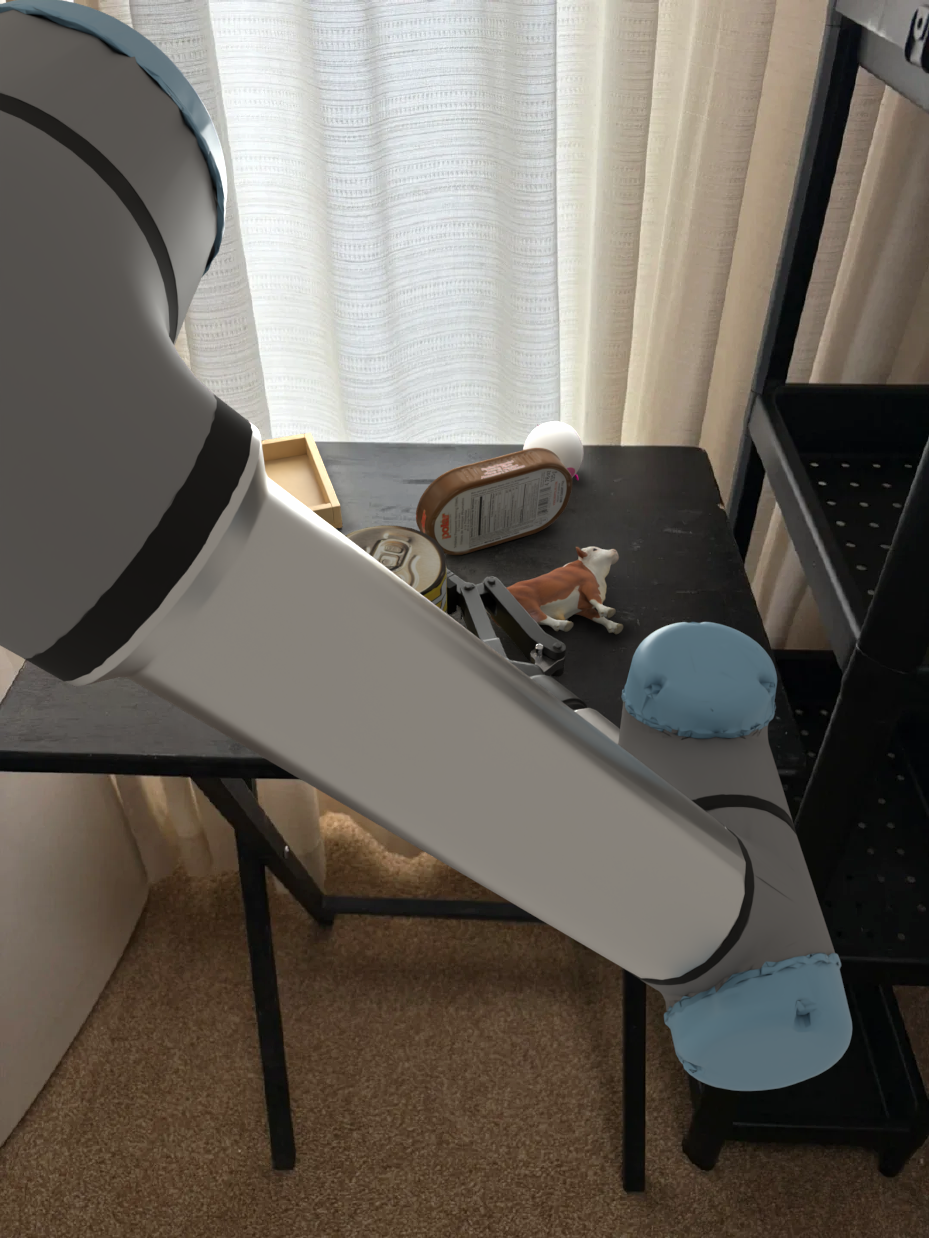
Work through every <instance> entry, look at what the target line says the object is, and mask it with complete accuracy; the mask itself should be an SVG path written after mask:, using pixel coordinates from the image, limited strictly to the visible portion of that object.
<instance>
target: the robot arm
mask: <svg viewBox="0 0 929 1238" xmlns="http://www.w3.org/2000/svg"><path fill="white" fill-rule="evenodd" d="M227 198H228V176H227V168H226V161H225V156H224V151H223V147H222V144H221V141H220V138H219V135H218V132H217V130H216V127H215V124H214V122H213V119H212V117H211V115H210V113H209V110H207V107H206V105H205V104H204V102H203V100H202V99H201V97H200V96H199V94H198V91H196V89H195V88H194V86H193V85H192V84H191V82H190V80H189V79H188V78H187V77H186V75H185V74H184V73H183V71H182V70H181V69H179V67H178V66H177V65H176V64H175V63H174V62H173V60H172V59H171V58H169V56H167V54H166V53H164V52H163V51H162V49H160V48H159V47H158V46H157V45H156V44H155V43H153V42H152V41H151V40H150V39H148V37H146V36H144V35H143V34H142V33H140V32H139V31H137V30H136V29H134V28H133V27H131V26H130V25H128V24H127V23H125V22H123V21H122V20H120V19H118V18H117V17H114V16H112V15H110V14H107V12H104V11H101V10H98V9H95V8H93V7H92V6H91V7H90V6H88V5H84V4H80V3H77V2H73V1H67V0H11V1H5V2H1V3H0V647H2V648H4V649H5V650H7V651H9V652H11V653H13V654H15V655H16V656H18V657H19V658H22V659H24V660H25V661H27V662H29V663H30V664H32V665H34V666H36V667H37V668H39V669H41V670H42V671H45V672H46V673H48V674H50V675H52V676H53V677H55V678H57V679H58V680H60V681H62V682H64V683H66V684H67V685H70V686H72V687H84V686H85V687H86V686H88V685H89V686H90V685H93V684H97V683H101V682H105V681H109V680H114V679H118V678H126V679H128V680H129V681H132V682H133V683H135V684H137V685H138V686H140V687H142V688H144V689H146V690H147V691H149V692H150V693H152V694H154V695H155V696H157V697H159V698H160V699H162V700H164V701H166V702H168V703H170V704H171V705H173V706H175V707H176V708H177V709H180V710H182V711H183V712H185V713H186V714H188V715H190V716H192V717H193V718H195V719H196V720H199V721H200V722H202V723H203V724H205V725H206V726H208V727H210V728H212V729H214V730H215V731H217V732H219V733H221V734H222V735H223V736H225V737H228V738H229V739H231V740H233V741H235V742H236V743H238V744H239V745H241V746H242V747H245V748H246V749H248V750H249V751H251V752H253V753H255V754H256V755H258V756H260V757H262V758H263V759H265V760H267V761H268V762H270V763H272V764H274V765H275V766H277V767H279V768H281V770H284V771H286V772H287V773H289V774H291V775H293V776H294V777H296V778H297V779H298V780H301V781H303V783H306V784H308V785H310V786H311V787H313V788H314V789H316V790H318V791H320V792H322V793H323V794H325V795H326V796H328V797H330V798H332V799H333V800H335V801H337V802H339V803H341V805H344V806H345V807H347V808H349V809H351V810H352V811H354V812H356V813H357V814H359V815H361V816H363V817H364V818H366V819H368V820H369V821H371V822H373V823H375V824H376V825H377V826H379V827H381V828H383V829H385V830H387V831H388V832H390V833H392V834H393V835H395V836H397V837H398V838H400V839H402V840H404V841H406V842H407V843H409V844H410V845H412V846H414V847H416V848H417V849H419V850H421V851H422V852H424V853H426V854H428V855H429V856H430V857H432V858H434V859H436V860H438V861H439V862H441V863H443V864H444V865H446V866H448V867H450V868H452V869H453V870H455V871H457V872H458V873H460V874H462V875H464V876H465V877H467V878H469V879H471V881H473V882H475V883H477V884H479V885H480V886H481V887H484V888H485V889H487V890H489V891H491V892H492V893H494V894H496V895H498V896H499V897H501V898H502V899H504V900H506V901H508V902H509V903H511V904H513V905H515V906H516V907H518V908H520V909H522V910H523V911H525V912H527V913H528V914H531V915H532V916H533V917H536V918H537V919H538V920H540V921H542V922H544V923H546V924H547V925H549V926H551V927H552V928H554V929H555V930H558V931H559V932H561V933H563V934H564V935H566V936H568V937H569V938H571V939H572V940H574V941H576V942H578V943H579V944H581V945H583V946H584V947H586V948H587V949H590V950H592V951H593V952H595V953H596V954H599V955H600V956H602V957H604V959H606V960H608V961H610V962H612V963H614V964H615V965H617V966H619V967H621V968H622V969H623V970H624V971H626V972H628V973H629V974H630V975H632V976H634V977H635V978H637V979H639V980H640V981H641V982H643V983H645V984H646V985H648V986H649V987H651V988H653V989H655V991H658V992H659V993H660V994H661V995H662V997H663V999H664V1002H665V1009H666V1012H664V1014H663V1020H664V1021H663V1022H664V1024H665V1026H667V1027H668V1028H669V1029H670V1034H671V1038H672V1043H673V1047H674V1051H675V1055H676V1057H677V1058H678V1061H679V1062H680V1063H681V1064H682V1067H683V1069H684V1071H686V1072H687V1073H688V1074H689V1075H690V1076H691V1077H692V1078H694V1079H695V1080H697V1081H699V1082H701V1083H703V1084H705V1085H708V1086H711V1087H714V1088H718V1089H723V1090H730V1091H736V1092H737V1091H739V1092H756V1091H757V1092H758V1091H768V1090H775V1089H776V1090H777V1089H782V1088H786V1087H789V1086H792V1085H796V1084H798V1083H801V1082H805V1081H806V1080H809V1079H811V1078H815V1077H816V1076H819V1075H820V1074H822V1073H824V1072H826V1071H827V1070H829V1069H831V1068H832V1067H833V1066H834V1065H835V1064H837V1063H838V1062H839V1060H841V1059H842V1058H843V1056H844V1054H845V1053H846V1051H847V1050H848V1048H849V1046H850V1043H851V1040H852V1036H853V1021H852V1016H851V1011H850V1008H849V1004H848V999H847V995H846V991H845V988H844V987H845V985H844V983H843V978H842V973H841V967H842V962H841V959H840V957H839V953H836V952H835V949H834V945H833V942H832V939H831V936H830V933H829V930H828V927H827V924H826V921H825V917H824V915H823V911H822V908H821V905H820V903H819V900H818V897H817V894H816V890H815V887H814V884H813V881H812V878H811V875H810V872H809V869H808V865H807V862H806V860H805V856H804V853H803V851H802V847H801V843H800V841H799V838H798V834H797V831H796V828H795V824H794V821H793V817H792V815H791V811H790V808H789V804H788V802H787V797H786V795H785V792H784V791H785V790H784V788H783V784H782V781H781V778H780V775H779V772H778V767H777V764H776V762H775V759H774V755H773V752H772V749H771V745H770V742H769V734H768V732H769V730H768V728H769V725H770V724H769V723H770V722H771V721H772V720H773V719H774V717H775V714H776V712H775V711H776V709H777V705H776V702H775V699H776V695H777V694H776V693H777V686H778V676H777V671H776V668H775V664H774V662H773V660H772V658H771V657H770V655H769V653H768V652H767V651H766V650H765V649H764V647H762V646H761V644H759V643H758V642H757V641H756V640H754V639H753V638H752V637H750V636H749V635H748V634H745V633H743V632H741V631H740V630H738V629H735V628H733V627H730V626H727V625H725V624H722V623H716V622H711V621H702V622H696V621H691V622H687V621H682V622H681V621H680V622H675V623H671V624H669V625H668V624H667V625H665V626H663V627H660V628H658V629H656V630H655V631H653V632H651V633H650V634H649V635H647V636H646V637H645V638H644V639H643V640H642V641H641V642H640V643H639V644H638V646H637V648H636V649H635V652H634V653H633V656H632V659H631V663H630V667H629V672H628V674H627V679H626V682H625V684H624V688H622V690H621V700H622V710H621V719H620V727H618V726H617V725H616V724H614V723H613V722H612V721H611V720H609V719H608V718H607V717H605V716H604V715H603V713H601V712H599V711H598V710H597V709H594V708H591V707H588V705H587V704H586V702H584V700H582V699H581V698H580V697H578V696H577V695H576V694H575V693H573V692H572V691H571V690H569V689H568V688H567V687H565V686H564V685H563V684H562V683H561V682H559V681H557V680H556V679H555V678H558V677H561V676H563V674H564V672H565V664H566V650H567V645H566V644H565V643H564V642H562V641H561V640H559V639H557V638H556V637H554V636H552V635H550V634H549V633H548V632H545V631H544V630H543V628H542V627H541V625H539V624H537V623H536V622H535V621H534V619H533V618H532V617H531V616H530V615H529V614H528V613H527V611H526V610H525V609H524V608H523V607H522V606H521V604H520V603H519V602H518V601H517V600H516V599H515V598H514V596H513V595H512V594H511V593H510V592H509V591H508V589H507V587H506V586H505V585H504V584H503V582H502V581H501V580H500V579H499V578H498V577H497V576H492V575H490V576H486V577H485V578H484V579H483V582H481V583H477V584H475V583H474V582H472V581H468V582H467V581H465V580H463V579H462V578H461V577H459V576H458V575H456V574H455V573H454V572H452V571H451V570H450V569H448V568H447V567H446V575H447V614H446V613H445V612H444V611H442V610H441V609H440V608H438V607H437V606H436V605H435V604H433V603H432V602H431V601H429V600H428V599H427V598H425V597H424V596H423V595H421V594H420V593H419V592H418V591H416V590H415V589H414V588H412V587H411V586H410V585H408V584H407V583H406V582H404V581H403V580H402V579H400V578H399V577H398V576H397V575H395V574H394V573H393V572H391V571H390V570H389V569H387V568H386V567H385V566H383V565H382V564H381V563H380V562H378V561H377V560H376V559H374V558H373V557H372V556H370V555H369V554H368V553H366V552H365V551H364V550H362V549H361V548H360V547H359V546H357V545H356V544H355V543H353V542H352V541H351V540H349V539H348V538H347V537H345V535H344V533H342V532H340V530H338V529H337V528H336V529H335V528H334V527H332V526H331V525H330V524H328V523H327V522H326V521H324V520H323V519H322V518H321V517H319V516H318V515H317V514H315V513H314V512H313V511H311V510H310V509H309V508H307V507H306V506H305V505H304V504H302V503H301V502H300V501H298V500H297V499H296V498H294V497H293V496H292V495H290V494H289V493H288V492H286V491H285V490H284V489H283V488H281V487H280V486H279V485H277V484H276V483H275V482H273V481H272V480H271V479H269V478H268V476H267V474H266V472H265V465H264V457H263V450H262V443H261V441H262V436H261V433H260V431H259V429H258V428H257V426H255V424H253V423H252V422H250V421H249V419H247V418H246V417H244V416H243V415H242V414H241V413H239V412H238V411H237V410H235V409H234V408H232V406H230V405H229V404H227V402H225V401H223V400H222V399H221V398H220V397H219V396H218V395H216V394H215V393H214V392H213V391H212V390H211V389H210V388H209V387H208V386H207V385H205V384H204V383H203V382H202V381H201V380H200V379H199V378H198V377H197V376H196V375H195V374H194V372H193V371H192V370H191V368H190V367H189V366H188V364H187V363H186V362H185V361H184V359H183V357H181V355H180V353H179V352H178V350H177V348H176V343H177V340H178V338H179V336H180V332H181V330H182V328H183V325H184V322H185V319H186V317H187V314H188V311H189V309H190V306H191V303H192V301H193V299H194V297H195V295H196V292H197V290H198V287H199V285H200V283H201V280H202V278H203V277H204V276H205V275H206V274H207V273H208V272H209V270H210V269H211V265H212V263H213V261H214V260H215V258H216V257H217V255H218V254H219V253H220V249H221V244H222V241H223V238H224V235H225V232H226V214H227V200H228V199H227ZM458 607H459V608H460V610H459V611H460V620H463V623H464V625H465V626H464V625H462V624H461V623H460V622H458V621H457V620H455V619H454V618H453V617H451V615H453V614H455V613H456V612H458ZM488 614H489V615H488ZM490 615H491V616H492V617H493V619H494V620H495V621H496V622H497V623H498V625H499V626H498V625H497V626H498V627H500V629H501V630H502V631H503V632H504V633H505V634H506V636H507V637H508V638H509V639H510V641H511V642H512V643H513V644H514V646H515V647H516V648H517V649H518V650H519V652H520V653H521V654H522V655H523V656H524V658H525V659H526V660H527V661H528V662H525V661H520V660H519V661H518V660H513V659H509V658H508V656H507V654H506V651H505V649H504V647H503V644H502V642H501V639H500V637H497V635H496V632H495V630H494V627H493V625H492V623H491V619H490V618H489V616H490ZM491 616H490V617H491Z"/></svg>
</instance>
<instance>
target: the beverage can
mask: <svg viewBox="0 0 929 1238" xmlns="http://www.w3.org/2000/svg"><path fill="white" fill-rule="evenodd" d="M344 536H345V537H347V538H348V539H349V540H351V541H352V542H353V543H355V544H356V545H357V546H359V547H360V548H361V549H362V550H364V551H365V552H366V553H368V554H369V555H370V556H372V557H373V558H374V559H376V560H377V561H378V562H380V563H381V564H382V565H383V566H385V567H386V568H387V569H389V570H390V571H391V572H393V573H394V574H395V575H397V576H398V577H399V578H400V579H402V580H403V581H404V582H406V583H407V584H408V585H410V586H411V587H412V588H414V589H415V590H416V591H418V592H419V593H420V594H421V595H423V596H424V597H425V598H427V599H428V600H429V601H431V602H432V603H433V604H435V605H436V606H437V607H438V608H440V609H441V610H442V611H444V612H445V613H446V614H447V575H446V568H447V556H446V554H445V553H444V551H443V548H442V547H441V546H440V545H439V544H438V543H437V541H436V540H435V539H433V538H432V537H430V536H428V535H427V534H425V533H423V532H420V530H419V529H415V528H412V527H407V526H401V525H385V524H383V525H382V524H380V525H374V526H369V527H368V526H367V527H363V528H359V529H357V530H353V531H350V532H349V533H347V534H345V535H344Z"/></svg>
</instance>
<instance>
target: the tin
mask: <svg viewBox="0 0 929 1238" xmlns="http://www.w3.org/2000/svg"><path fill="white" fill-rule="evenodd" d="M572 490H573V477H572V476H571V474H570V472H569V471H568V469H567V468H566V467H565V466H564V464H563V463H562V462H561V461H560V459H559V457H558V456H557V455H556V454H555V453H554V452H552V451H550V450H548V449H545V448H530V449H525V450H523V449H522V450H519V451H514V452H510V453H507V454H503V455H500V456H496V457H492V458H488V459H484V460H480V461H475V462H473V463H467V464H465V465H461V466H457V467H454V468H451V469H449V470H448V471H445V472H444V473H442V474H440V475H439V476H438V477H436V478H435V479H434V480H433V481H431V483H429V485H428V486H427V487H426V489H425V490H424V491H423V492H422V494H421V496H420V498H419V500H418V502H417V507H416V510H415V522H416V526H417V528H418V531H420V532H423V533H425V534H427V535H428V536H430V537H432V538H433V539H435V540H436V541H437V543H438V544H439V545H440V546H441V547H442V548H443V551H444V553H445V555H450V556H462V555H466V554H470V553H473V552H476V551H480V550H483V549H486V548H490V547H493V546H497V545H500V544H504V543H507V542H511V541H515V540H517V539H521V538H523V537H528V536H530V535H534V534H536V533H539V532H541V531H543V530H545V529H546V528H548V527H549V526H551V525H552V524H553V523H555V521H557V520H558V519H559V517H561V515H562V514H563V512H564V511H565V510H566V508H567V506H568V505H569V501H570V499H571V494H572Z"/></svg>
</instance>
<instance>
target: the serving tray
mask: <svg viewBox="0 0 929 1238" xmlns="http://www.w3.org/2000/svg"><path fill="white" fill-rule="evenodd" d="M261 443H262V450H263V457H264V465H265V472H266V474H267V476H268V478H269V479H271V480H272V481H273V482H275V483H276V484H277V485H279V486H280V487H281V488H283V489H284V490H285V491H286V492H288V493H289V494H290V495H292V496H293V497H294V498H296V499H297V500H298V501H300V502H301V503H302V504H304V505H305V506H306V507H307V508H309V509H310V510H311V511H313V512H314V513H315V514H317V515H318V516H319V517H321V518H322V519H323V520H324V521H326V522H327V523H328V524H330V525H331V526H332V527H334V528H335V529H336V530H337V529H341V528H343V517H342V509H341V507H342V506H341V504H340V501H339V499H338V496H337V495H336V491H335V489H334V486H333V484H332V482H331V479H330V476H329V473H328V472H327V469H326V466H325V464H324V462H323V459H322V456H321V454H320V451H319V449H318V446H317V444H316V442H315V439H314V437H313V435H312V432H306V433H298V434H292V435H287V436H280V437H274V438H270V439H263V440H262V439H261Z"/></svg>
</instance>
